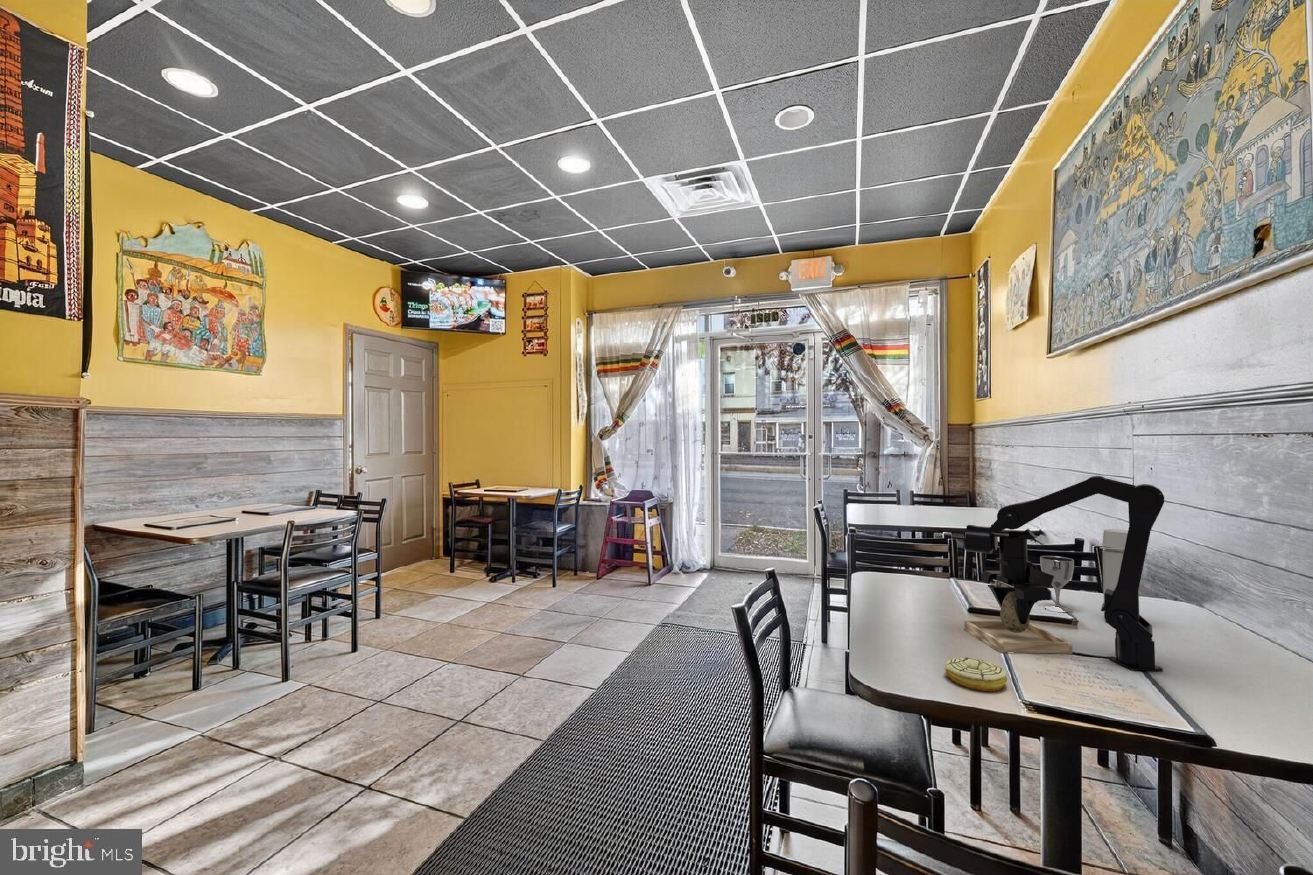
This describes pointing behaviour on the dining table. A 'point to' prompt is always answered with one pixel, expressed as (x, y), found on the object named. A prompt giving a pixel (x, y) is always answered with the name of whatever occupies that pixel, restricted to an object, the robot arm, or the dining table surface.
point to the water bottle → (1112, 556)
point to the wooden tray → (1017, 638)
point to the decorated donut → (976, 674)
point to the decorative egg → (1011, 615)
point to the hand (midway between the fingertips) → (1014, 619)
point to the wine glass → (1058, 573)
